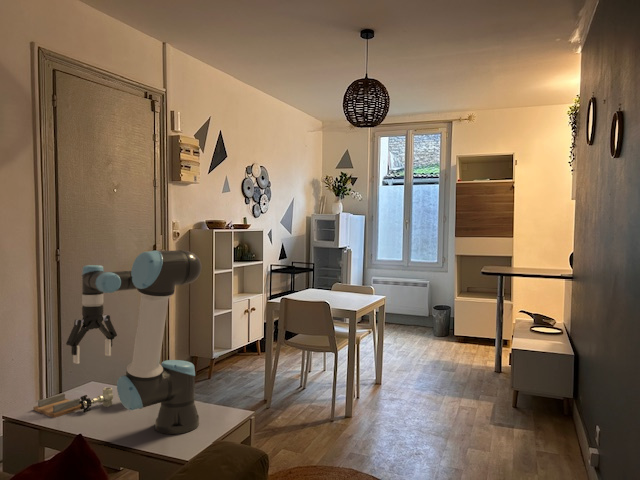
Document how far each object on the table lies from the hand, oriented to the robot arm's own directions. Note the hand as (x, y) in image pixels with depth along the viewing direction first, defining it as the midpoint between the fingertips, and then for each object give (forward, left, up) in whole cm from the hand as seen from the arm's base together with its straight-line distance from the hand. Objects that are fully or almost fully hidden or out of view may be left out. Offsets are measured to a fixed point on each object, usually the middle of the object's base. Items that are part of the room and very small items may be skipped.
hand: (92, 359), depth 189 cm
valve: (-1, -2, -20) cm, 20 cm away
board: (+10, +7, -19) cm, 23 cm away
